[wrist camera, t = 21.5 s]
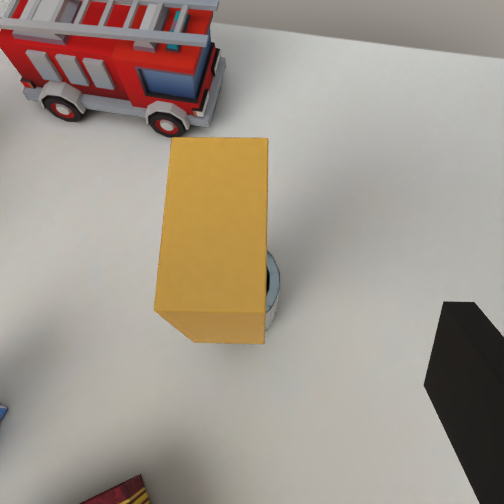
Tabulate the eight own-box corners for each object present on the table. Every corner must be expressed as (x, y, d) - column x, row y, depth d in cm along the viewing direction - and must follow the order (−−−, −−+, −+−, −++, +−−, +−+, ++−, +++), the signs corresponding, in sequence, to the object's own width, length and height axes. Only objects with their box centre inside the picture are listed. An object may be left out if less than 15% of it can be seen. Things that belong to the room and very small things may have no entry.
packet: (266, 224, 28) (268, 136, 19) (264, 344, 25) (265, 313, 16) (201, 223, 28) (171, 136, 19) (193, 342, 26) (153, 311, 16)
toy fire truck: (213, 145, 40) (198, 66, 30) (30, 116, 41) (-39, 33, 32) (233, 71, 42) (225, -22, 33) (61, 47, 44) (6, -49, 35)
